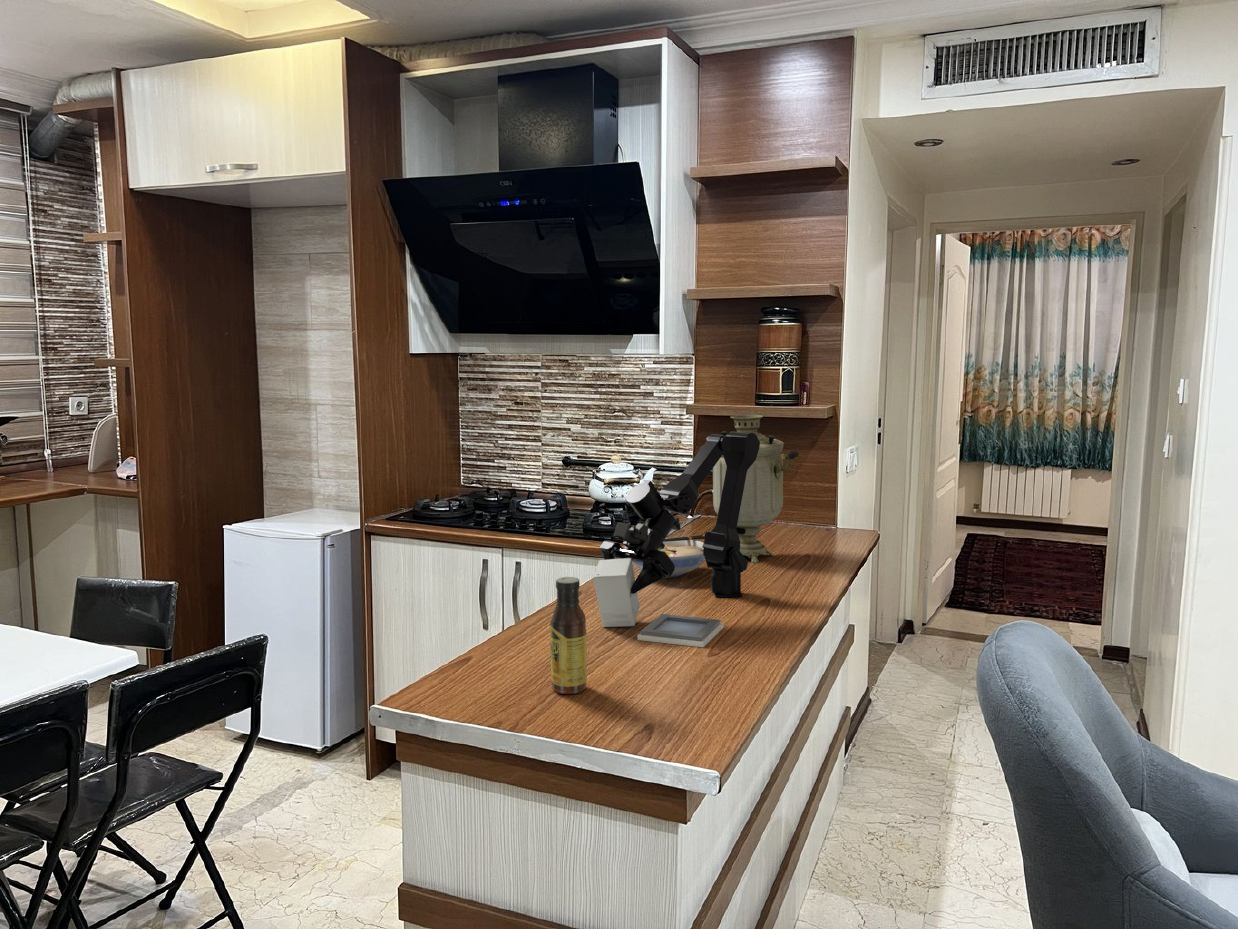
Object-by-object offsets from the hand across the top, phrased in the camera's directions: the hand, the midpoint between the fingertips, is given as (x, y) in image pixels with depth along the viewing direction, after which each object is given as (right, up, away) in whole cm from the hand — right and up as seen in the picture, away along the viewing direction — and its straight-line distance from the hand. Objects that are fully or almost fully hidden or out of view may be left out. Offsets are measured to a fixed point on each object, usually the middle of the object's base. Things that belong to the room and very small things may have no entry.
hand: (616, 588), depth 198 cm
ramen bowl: (+13, -3, +46) cm, 48 cm away
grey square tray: (+14, -9, -5) cm, 17 cm away
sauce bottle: (-8, -13, -36) cm, 39 cm away
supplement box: (+1, -7, +2) cm, 7 cm away
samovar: (+39, 0, +66) cm, 77 cm away
